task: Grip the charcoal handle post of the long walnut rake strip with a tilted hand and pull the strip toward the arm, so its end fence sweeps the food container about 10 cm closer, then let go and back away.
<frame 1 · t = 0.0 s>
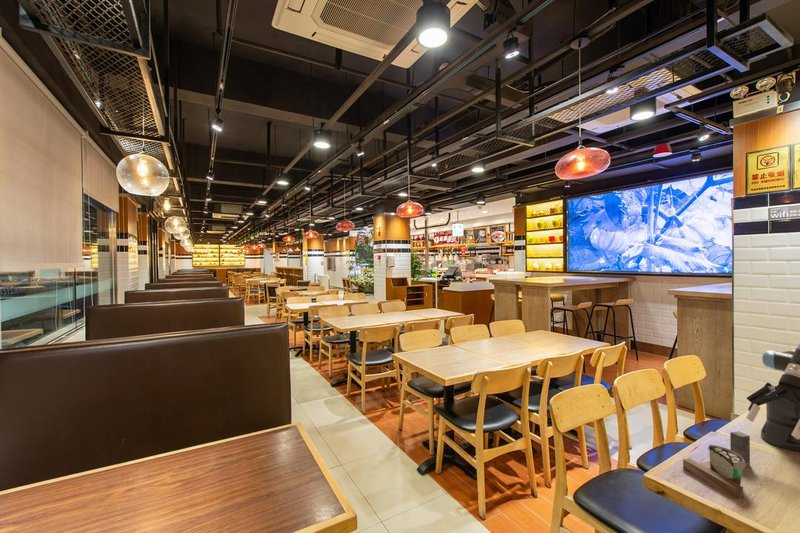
hand: (771, 428, 127), 15 cm above the table, tool tilted 35°, fingers open, 13 cm apart
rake: (716, 466, 130), on the table
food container: (730, 482, 120), on the table
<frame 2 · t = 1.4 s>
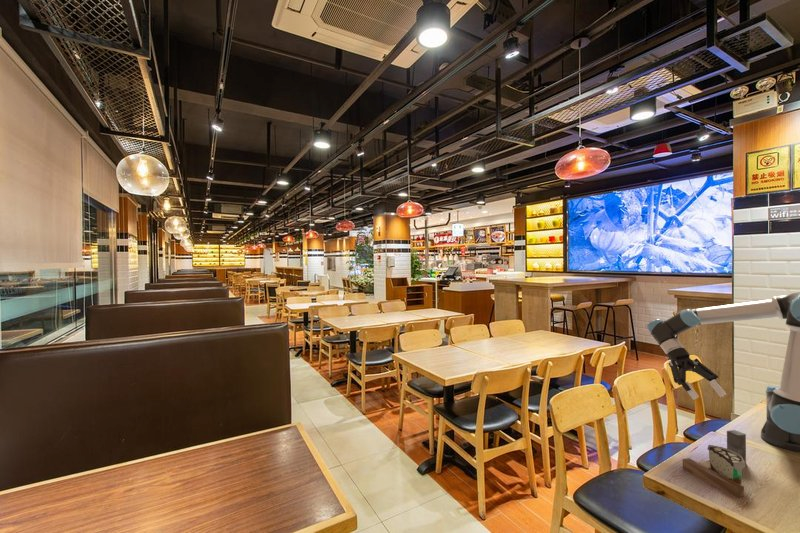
hand: (710, 397, 142), 21 cm above the table, tool tilted 45°, fingers open, 13 cm apart
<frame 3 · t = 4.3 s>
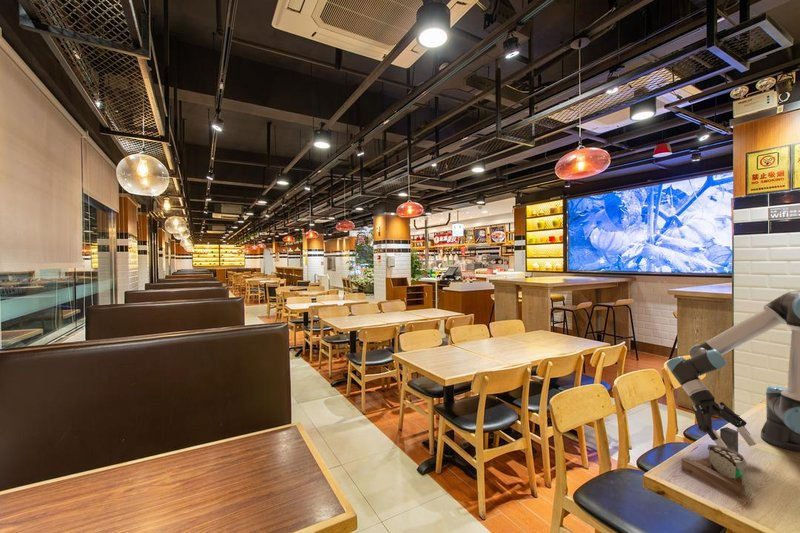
hand: (738, 447, 132), 6 cm above the table, tool tilted 45°, fingers open, 13 cm apart
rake: (710, 464, 131), on the table
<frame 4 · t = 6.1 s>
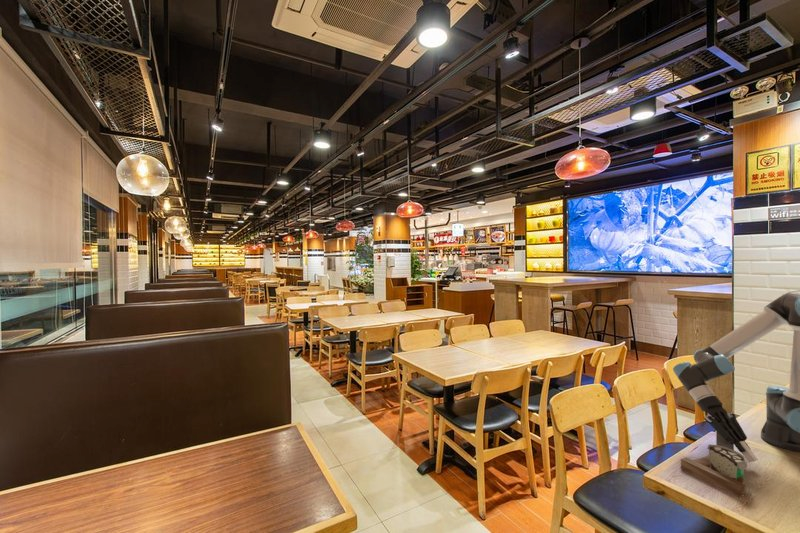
hand: (753, 461, 128), 3 cm above the table, tool tilted 45°, fingers closed
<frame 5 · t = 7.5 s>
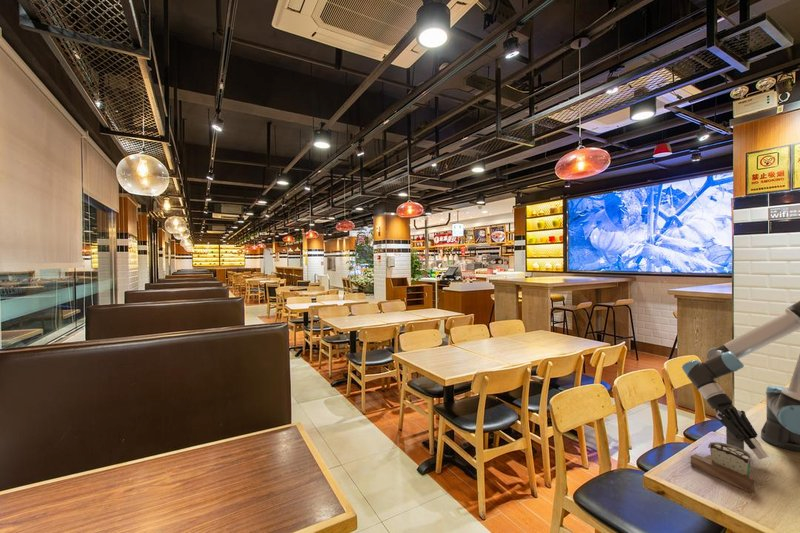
hand: (764, 457, 129), 3 cm above the table, tool tilted 45°, fingers closed
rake: (718, 460, 134), on the table, touching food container, hand
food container: (733, 477, 124), on the table, touching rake
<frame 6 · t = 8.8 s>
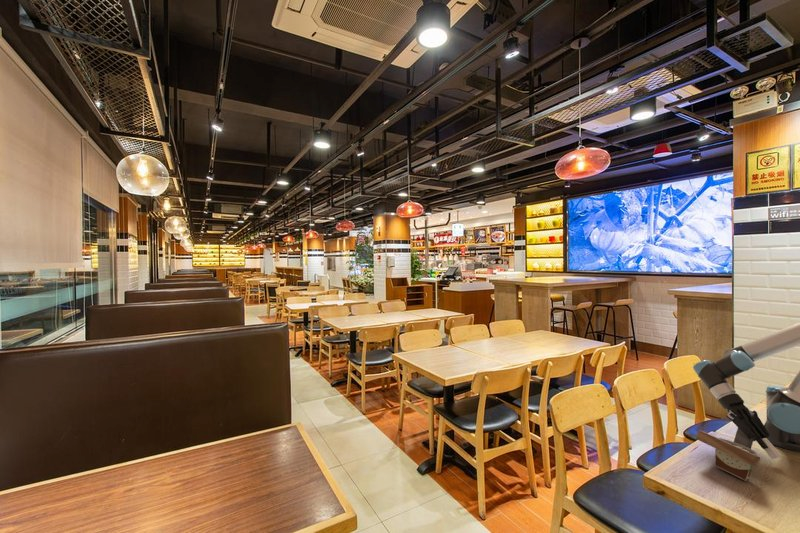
hand: (776, 457, 129), 3 cm above the table, tool tilted 45°, fingers closed
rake: (722, 447, 135), point 4 cm above the table, tilted 20°, touching hand
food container: (735, 474, 125), on the table
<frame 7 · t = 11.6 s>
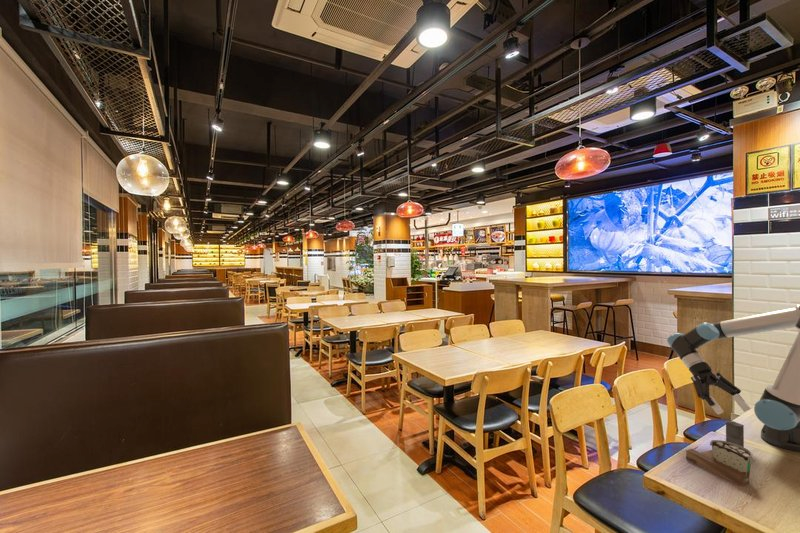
hand: (734, 411, 143), 14 cm above the table, tool tilted 45°, fingers open, 13 cm apart
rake: (715, 455, 137), on the table, touching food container
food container: (735, 474, 125), on the table, touching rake
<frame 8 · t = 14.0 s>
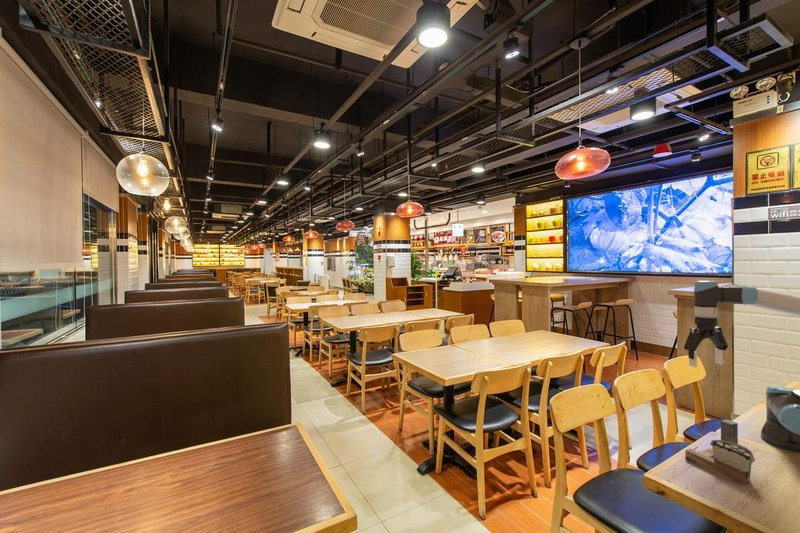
hand: (706, 365, 150), 32 cm above the table, tool pointing down, fingers open, 13 cm apart
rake: (712, 454, 138), on the table
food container: (735, 474, 125), on the table
at the end: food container inside the target area (4.5 cm from its centre), on the table; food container tilted 0°; the gripper is holding nothing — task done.
